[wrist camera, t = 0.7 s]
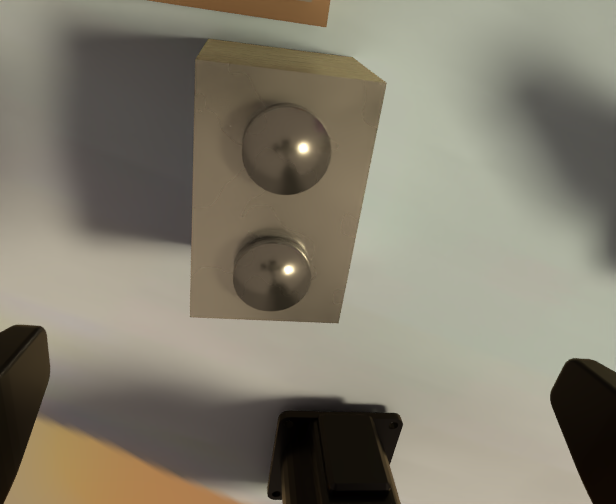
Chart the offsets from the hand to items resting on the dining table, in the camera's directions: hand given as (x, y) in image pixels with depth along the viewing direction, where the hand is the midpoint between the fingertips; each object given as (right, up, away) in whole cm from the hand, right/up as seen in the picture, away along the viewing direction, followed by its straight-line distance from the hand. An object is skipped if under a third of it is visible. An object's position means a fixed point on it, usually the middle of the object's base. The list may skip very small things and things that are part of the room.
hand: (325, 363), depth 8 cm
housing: (-2, +6, +11) cm, 12 cm away
